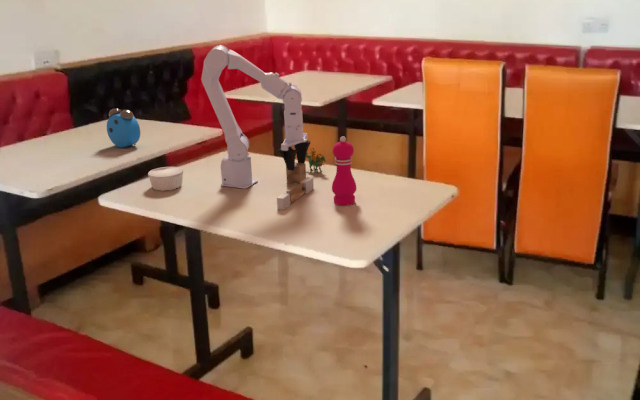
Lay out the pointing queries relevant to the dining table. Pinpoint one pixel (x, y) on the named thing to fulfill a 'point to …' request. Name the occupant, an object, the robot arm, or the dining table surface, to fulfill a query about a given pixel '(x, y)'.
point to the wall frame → (284, 199)
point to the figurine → (315, 160)
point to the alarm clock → (123, 128)
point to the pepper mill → (343, 174)
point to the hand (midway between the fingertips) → (296, 166)
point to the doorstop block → (296, 173)
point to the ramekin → (166, 178)
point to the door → (297, 192)
